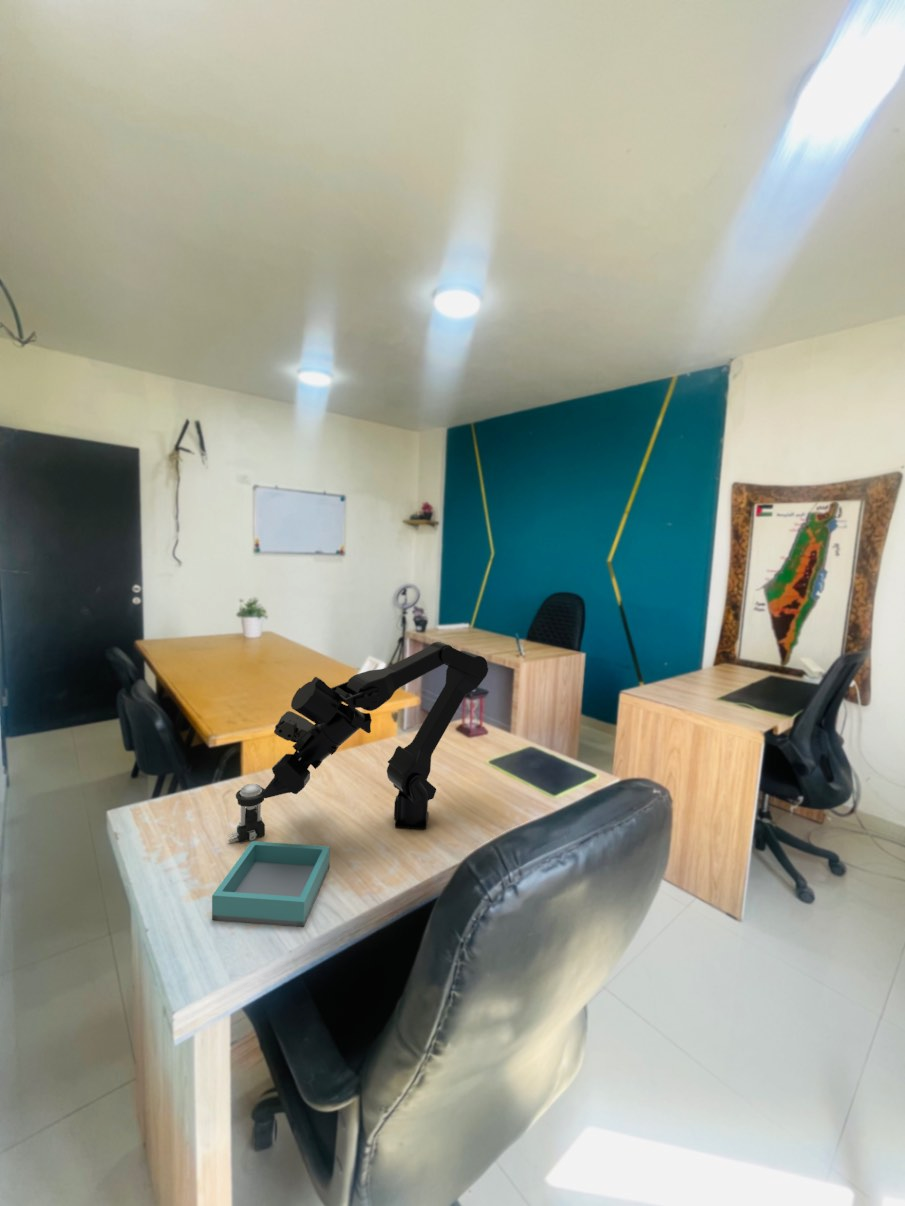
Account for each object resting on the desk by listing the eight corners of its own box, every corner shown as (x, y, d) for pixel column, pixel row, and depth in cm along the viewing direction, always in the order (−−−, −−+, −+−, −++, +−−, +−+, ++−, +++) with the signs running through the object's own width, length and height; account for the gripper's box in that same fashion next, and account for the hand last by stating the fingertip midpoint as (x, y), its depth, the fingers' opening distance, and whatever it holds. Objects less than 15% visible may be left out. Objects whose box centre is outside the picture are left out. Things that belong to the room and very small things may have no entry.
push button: (232, 850, 92) (232, 799, 91) (224, 836, 96) (225, 787, 95) (268, 839, 96) (269, 790, 95) (260, 826, 101) (260, 779, 99)
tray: (329, 867, 89) (329, 846, 89) (303, 926, 75) (304, 902, 75) (251, 862, 89) (252, 841, 89) (212, 919, 76) (212, 895, 75)
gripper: (317, 686, 102) (263, 735, 104) (285, 717, 84) (219, 775, 85) (354, 726, 103) (300, 773, 104) (330, 765, 84) (264, 822, 86)
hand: (272, 784), depth 95 cm, fingers open, 9 cm apart
